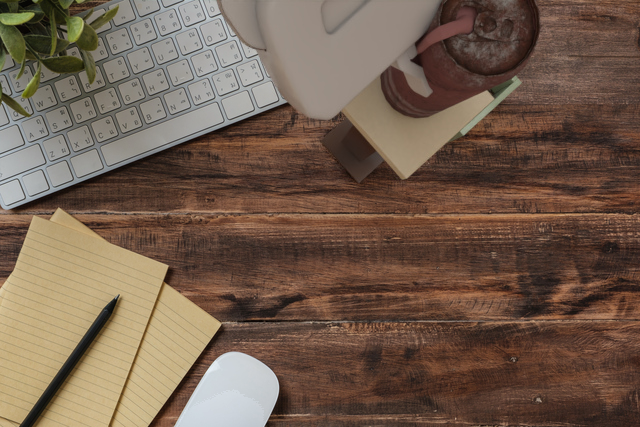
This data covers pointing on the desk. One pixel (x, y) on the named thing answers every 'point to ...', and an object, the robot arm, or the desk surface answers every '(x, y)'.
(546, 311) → the desk surface
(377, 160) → the post
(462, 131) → the holder
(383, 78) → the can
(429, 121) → the beige square panel
